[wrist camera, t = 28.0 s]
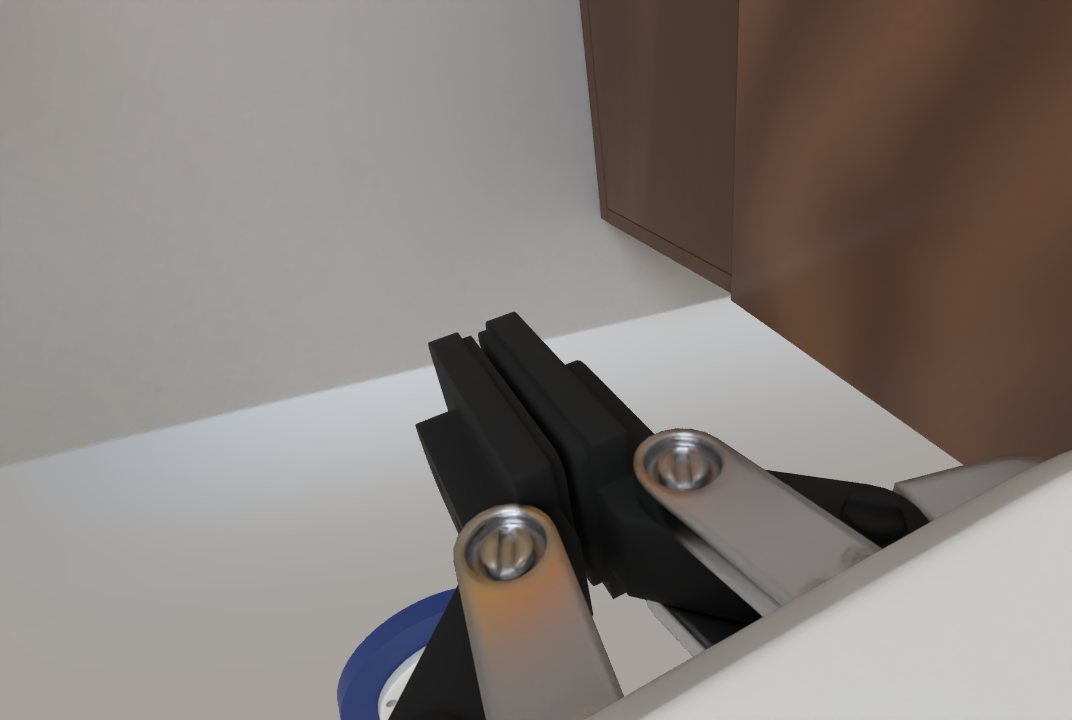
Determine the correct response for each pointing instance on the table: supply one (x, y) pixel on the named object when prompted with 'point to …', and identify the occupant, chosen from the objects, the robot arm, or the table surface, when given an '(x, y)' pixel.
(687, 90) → the chest
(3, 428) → the table surface
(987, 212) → the lid
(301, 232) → the table surface
